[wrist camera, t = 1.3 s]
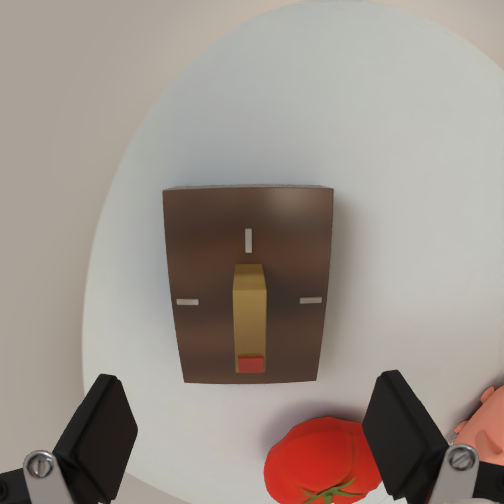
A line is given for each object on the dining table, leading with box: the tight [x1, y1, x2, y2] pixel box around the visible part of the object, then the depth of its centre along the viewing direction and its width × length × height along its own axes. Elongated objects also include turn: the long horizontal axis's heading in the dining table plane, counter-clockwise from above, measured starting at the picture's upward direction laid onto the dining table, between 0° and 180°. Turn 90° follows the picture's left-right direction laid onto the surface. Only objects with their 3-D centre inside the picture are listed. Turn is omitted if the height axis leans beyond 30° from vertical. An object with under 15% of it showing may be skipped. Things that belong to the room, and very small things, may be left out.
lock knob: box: [233, 264, 267, 373], centre depth 16 cm, size 5×2×4 cm, turn 0°
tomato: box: [264, 416, 382, 504], centre depth 22 cm, size 14×13×9 cm
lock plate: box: [162, 185, 334, 384], centre depth 20 cm, size 14×10×3 cm
